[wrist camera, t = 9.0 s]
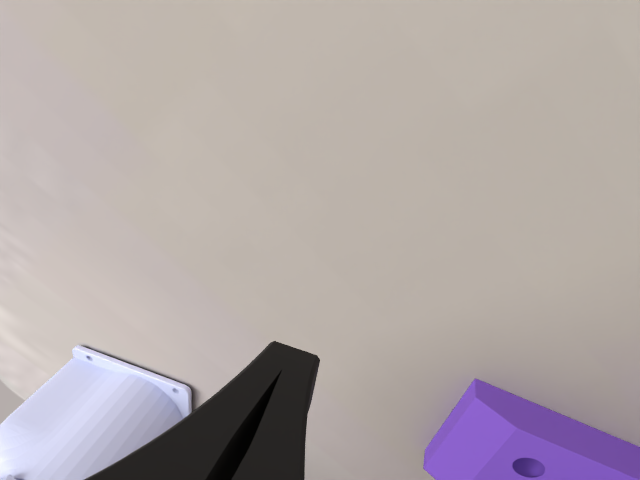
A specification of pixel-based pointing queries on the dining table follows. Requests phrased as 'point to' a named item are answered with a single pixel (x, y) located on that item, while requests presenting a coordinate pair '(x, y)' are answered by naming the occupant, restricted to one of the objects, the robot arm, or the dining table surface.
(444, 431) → the purple holed block
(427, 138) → the dining table surface
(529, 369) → the dining table surface
